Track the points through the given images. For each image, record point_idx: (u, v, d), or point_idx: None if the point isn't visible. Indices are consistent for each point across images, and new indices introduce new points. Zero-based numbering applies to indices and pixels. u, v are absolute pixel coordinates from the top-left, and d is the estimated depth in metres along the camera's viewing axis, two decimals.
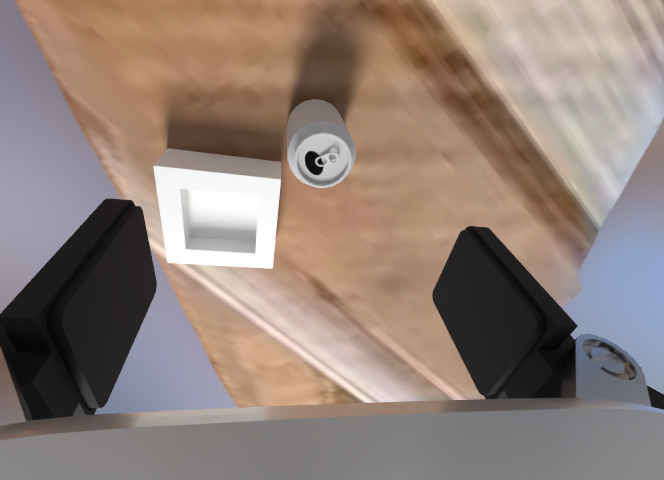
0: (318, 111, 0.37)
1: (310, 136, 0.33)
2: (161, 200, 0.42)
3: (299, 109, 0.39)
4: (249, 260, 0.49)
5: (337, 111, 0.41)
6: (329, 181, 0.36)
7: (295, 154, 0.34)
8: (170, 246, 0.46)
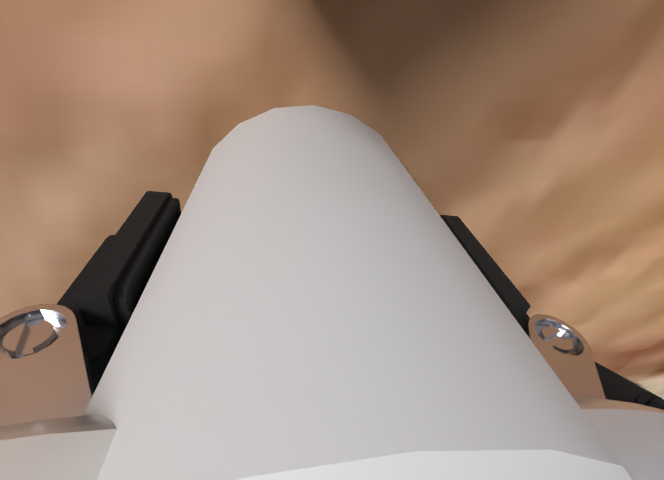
0: None
1: None
2: None
3: None
4: None
5: None
6: None
7: None
8: None
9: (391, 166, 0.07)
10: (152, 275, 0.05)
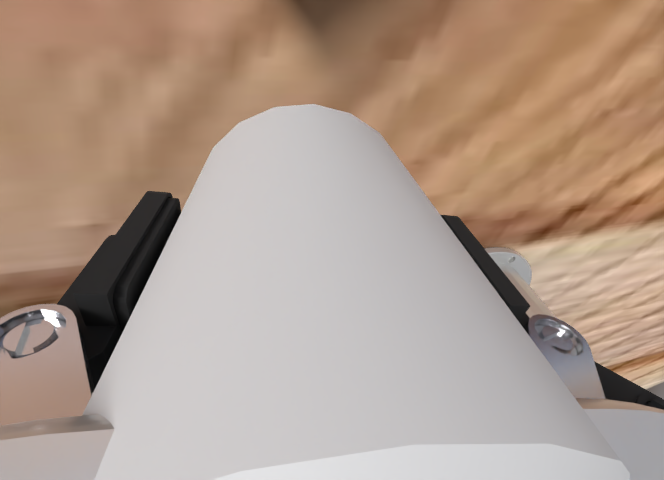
0: None
1: None
2: None
3: None
4: None
5: None
6: None
7: None
8: None
9: (391, 165, 0.08)
10: (152, 273, 0.05)
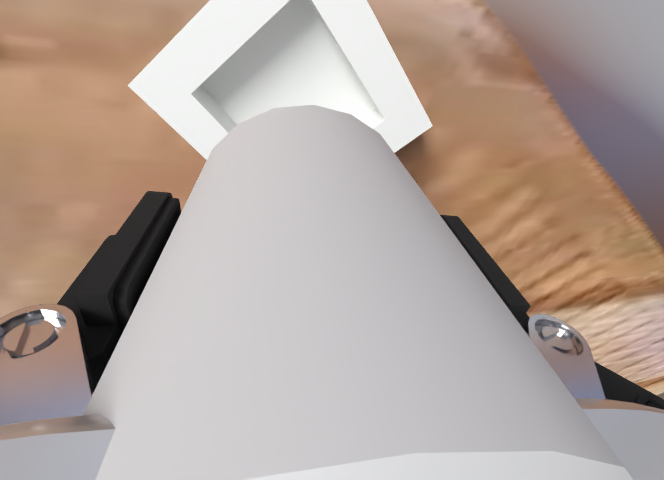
0: None
1: None
2: (399, 74, 0.23)
3: None
4: (181, 67, 0.21)
5: None
6: None
7: None
8: None
9: (391, 166, 0.07)
10: (151, 275, 0.05)
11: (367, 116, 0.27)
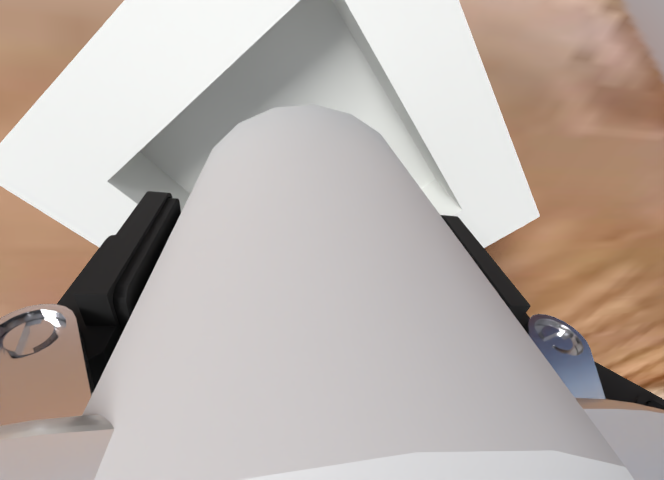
0: None
1: None
2: (499, 139, 0.12)
3: None
4: (81, 136, 0.10)
5: None
6: None
7: None
8: None
9: (391, 165, 0.07)
10: (151, 275, 0.05)
11: None
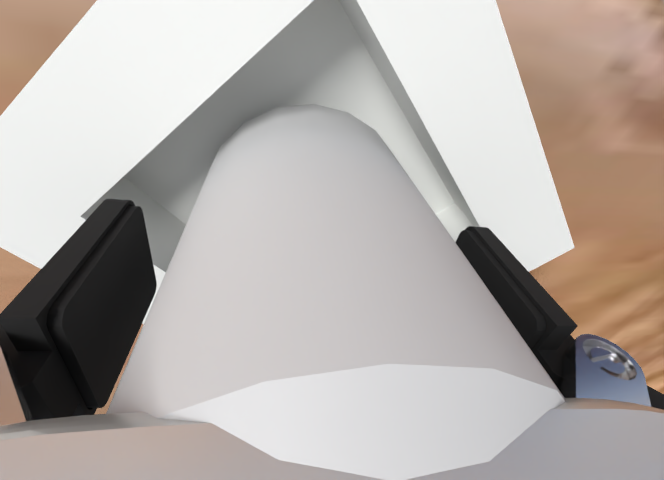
0: None
1: None
2: (535, 165, 0.11)
3: None
4: (46, 166, 0.09)
5: None
6: None
7: None
8: None
9: (384, 160, 0.08)
10: (175, 255, 0.06)
11: (440, 218, 0.15)
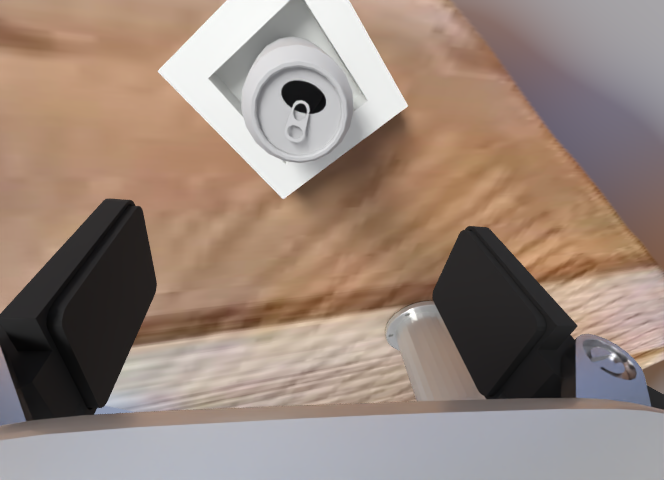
0: None
1: (344, 126, 0.21)
2: (378, 62, 0.28)
3: None
4: (201, 56, 0.26)
5: None
6: (259, 96, 0.20)
7: (339, 86, 0.20)
8: None
9: (314, 45, 0.25)
10: None
11: (354, 99, 0.32)
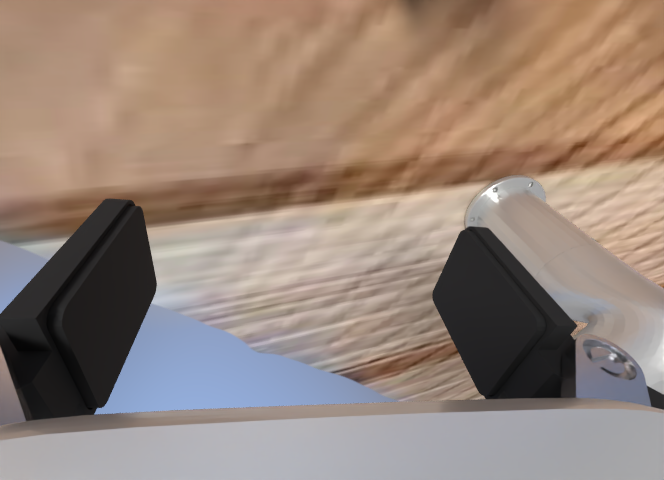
0: None
1: None
2: None
3: None
4: None
5: None
6: None
7: None
8: None
9: None
10: None
11: None
